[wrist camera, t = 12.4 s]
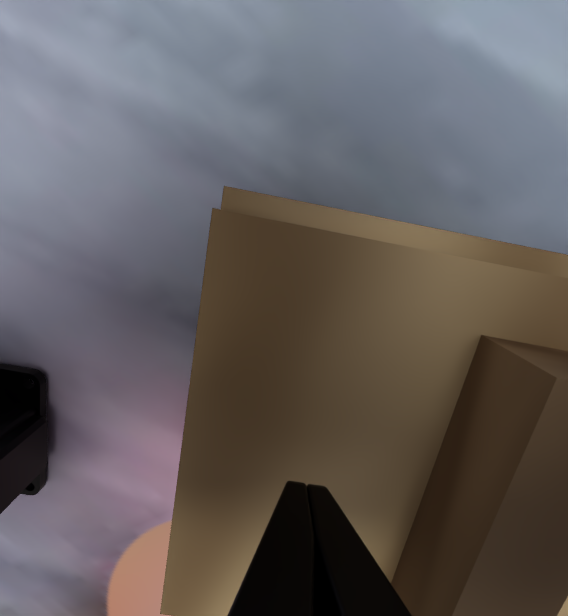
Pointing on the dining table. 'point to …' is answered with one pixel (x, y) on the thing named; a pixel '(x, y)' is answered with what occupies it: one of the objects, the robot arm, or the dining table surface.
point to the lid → (377, 417)
